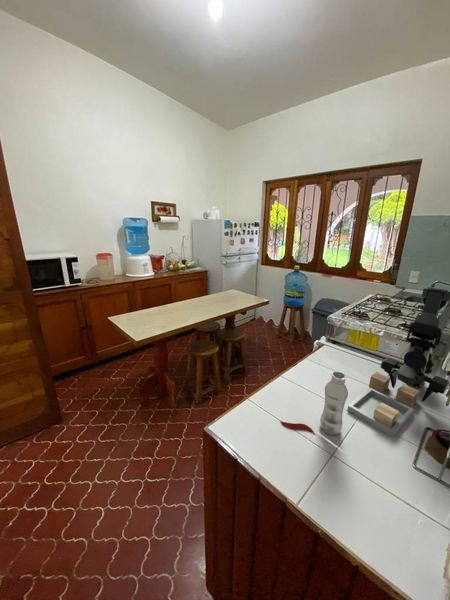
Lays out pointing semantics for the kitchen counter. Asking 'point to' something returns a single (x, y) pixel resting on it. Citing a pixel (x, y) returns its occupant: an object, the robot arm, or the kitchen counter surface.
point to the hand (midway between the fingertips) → (407, 394)
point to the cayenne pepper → (297, 426)
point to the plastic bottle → (334, 404)
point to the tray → (371, 401)
